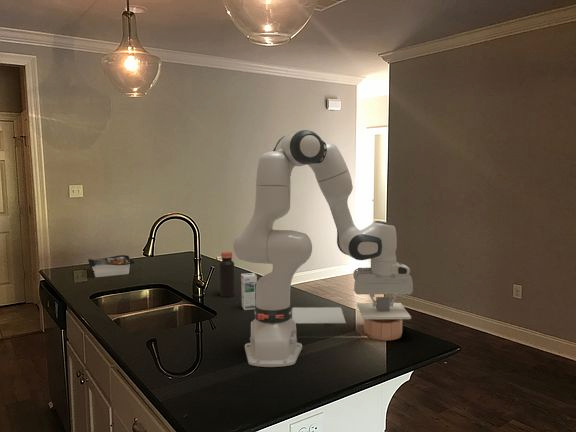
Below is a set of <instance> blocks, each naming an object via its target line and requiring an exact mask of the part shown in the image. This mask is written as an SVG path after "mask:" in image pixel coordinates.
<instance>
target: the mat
mask: <svg viewBox="0 0 576 432" xmlns="http://www.w3.org/2000/svg"><path fill="white" fill-rule="evenodd" d="M291 309H292V313H291V314H292V316H291V318H292V319H293V320H294V321H295V322H296V324H347V322H346V319H345V316H344V313H343V310H342V309H343V308H342V307H340V306H339V307H337V306H335V307H331V306H330V307H327V306H326V307H291Z"/></svg>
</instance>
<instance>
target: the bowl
mask: <svg viewBox="0 0 576 432" xmlns="http://www.w3.org/2000/svg"><path fill="white" fill-rule="evenodd" d="M403 320H404V319H363V332H364V334H365V336H366V337H367V338H369V339H372V340H376V341H384V342H385V341H389V342H390V341H395V340H398V339H401V338H402V335H403Z"/></svg>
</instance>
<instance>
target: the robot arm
mask: <svg viewBox="0 0 576 432" xmlns="http://www.w3.org/2000/svg"><path fill="white" fill-rule="evenodd" d="M303 166H308V167H309V168H310V169H311V170H312V171H313V173H314V176H315V179H316V183H317V184H318V187H319V189H320V191H321V193H322V195H323V197H324V198H325V200H326V202H327V204H328V207H329V210H330V211H331V216H332V218H333V222H334V224H335V228H336V245H337V248H338V250H339V251H340V252H341V254H344V255H346V256H348V257H350V258H353V259H354V260H356V261H367V260H370V267H357V268H356V269H355V270H354V271H353V273H352V274H353V279H354V282H353V283H354V284H353V291H354V293H355V294H356V295H369V297H370V299H371V301H372V303H373V307H378V305H377V304H378V302H377V301H376V299H374V298H375V296H376V295H390V296H391V298H390V299H389V300H390V307H393V303H395V300H396V299H397V296H398V295H411V294H412V293H413V292H414V283H413V279H412V276H411V275H410V273H411V269H410V267H409V266H408V265H406V264H403V263H400V262H398V261H397V253H396V251H397V246H398V244H397V241H398V239H397V230H396V227H395V226H394V224H393V223H390V222H386V221H382V220H375V221H373V222H372V223H370V225H368V226H366V227H365V228H363V229H358V227H357V226H356V225H355V223H354V221H353V218H352V215H351V211H350V208H349V205H348V201H349V200H348V199H349V197H350V195H351V194H352V192H353V189H354V186H353V182H352V177H351V174H350V171H349V168H348V166H347V163H346V161H345V159H344V157H343V155H342V153H341V151H340V150H339V148H338V147H337V145H335V144H334V143H332V142H325V141H324V140H323V139H322V138H321V137H320V136H319V134H317V133H316V132H314V131H312V130H309V129H303V130H299V131H293V132H290V133H288V134H287V135H283V136H281V138H280V139H279V140H278V141H277V142H276V145H275V147H274V149H273V150H272V151H267V152H264V153H263V154H262V155H261V156H260V157H259V159H258V165H257V170H256V178H255V179H256V180H255V203H254V209H253V214H252V217H251V219H250V221H249V222H248V223H247V225H246V226H245V227H244V228H243V229H242V230H240V231H239V232H238V233H237V234H236V235H235V238H234V240H233V246H232V247H233V251H234V254H235V256H236V257H237V258H238V260H241V261H244V262H247V263H251V264H266V265H267V264H270V265H272V270H271V272H269V273H266V274H264V275H263V276H261V277H260V278H259V279H257V283H256V305H255V309H253V310H254V312H253V313H254V319H253V320H252V321H251V322H250V337H249V339H248V340H249V342H247V343H245V344H244V351H245V355H246V359H247V363H248V365H250V366H255V367H264V368H277V367H279V368H282V367H287V366H289V367H290V366H292V365H295V364H296V362H297V360H298V357H299V356H300V354H301V351H302V349H303V344H302V343H301V342H298V336H297V333H298V329H297V323H296V322H295V321H294V320H293V319H292V304H291V286H292V280H293V278H294V275H295V274H296V272H297V271H298V270H299V269H300V267H301V266H303V265H304V264H305V263H307V262H308V261H309V259H310V258H311V256H312V253H313V244H312V240H311V238H310V237H309V235H308V234H307V233H305V232H302V231H301V232H300V231H297V230H289V229H273V226H274V224H275V221H278V220H279V219H280V218H284V216H285V215H287V214H288V213H289V211H290V209H291V185H292V184H291V175H292V172H293V169H294V167H303Z"/></svg>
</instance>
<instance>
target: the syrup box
mask: <svg viewBox="0 0 576 432" xmlns="http://www.w3.org/2000/svg"><path fill="white" fill-rule="evenodd" d="M240 279H241V280H240V282H241V283H240V284H241V307H242V309H243V310H244V311H250V310H251V311H253V310H255V305H256V283H257V281H258V275H257V274H256V273H255V272H252V273H251V272H250V273H241V274H240Z"/></svg>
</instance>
